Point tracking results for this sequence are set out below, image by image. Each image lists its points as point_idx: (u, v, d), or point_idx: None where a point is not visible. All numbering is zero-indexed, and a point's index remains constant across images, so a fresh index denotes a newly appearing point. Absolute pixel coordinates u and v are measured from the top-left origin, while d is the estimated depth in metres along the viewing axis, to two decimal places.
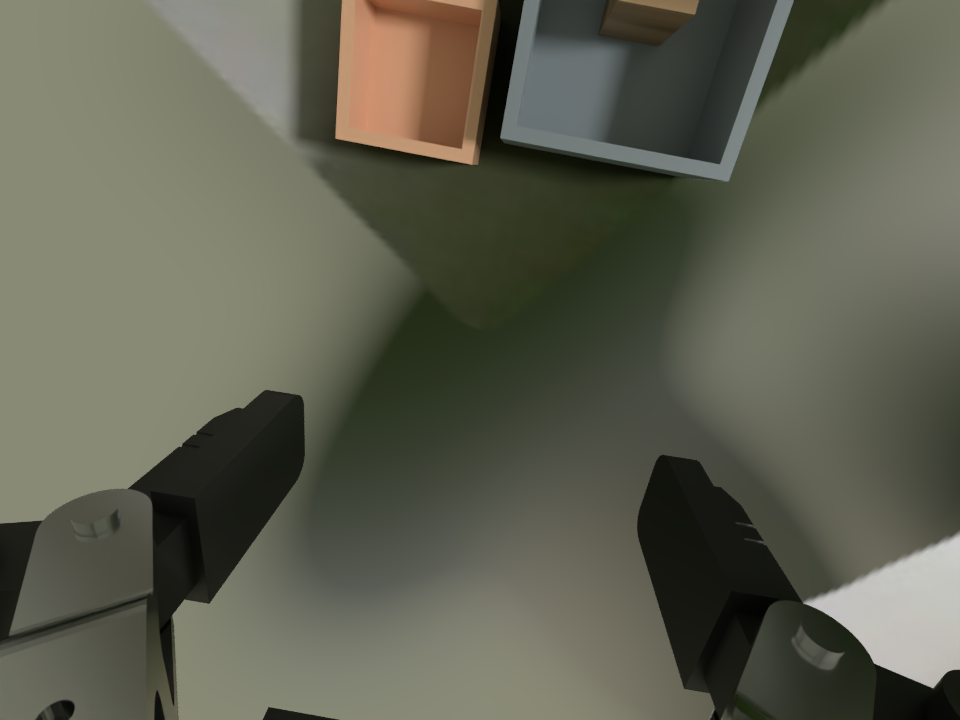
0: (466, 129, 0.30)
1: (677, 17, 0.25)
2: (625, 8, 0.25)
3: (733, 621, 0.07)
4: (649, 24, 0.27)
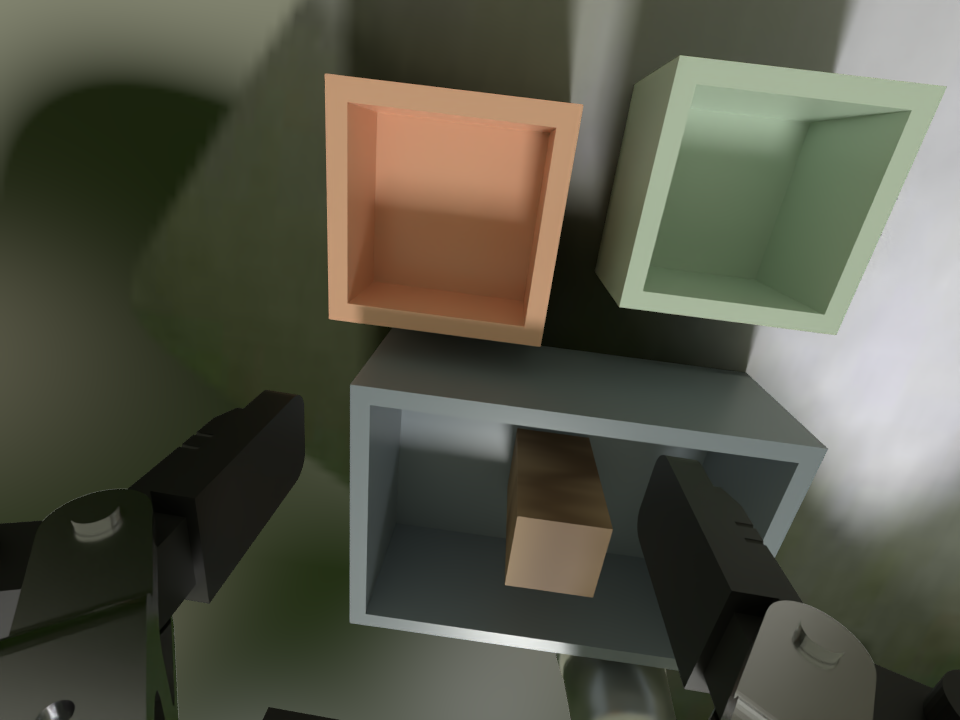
0: (375, 309, 0.20)
1: (507, 559, 0.22)
2: (515, 510, 0.21)
3: (733, 621, 0.07)
4: (510, 513, 0.23)
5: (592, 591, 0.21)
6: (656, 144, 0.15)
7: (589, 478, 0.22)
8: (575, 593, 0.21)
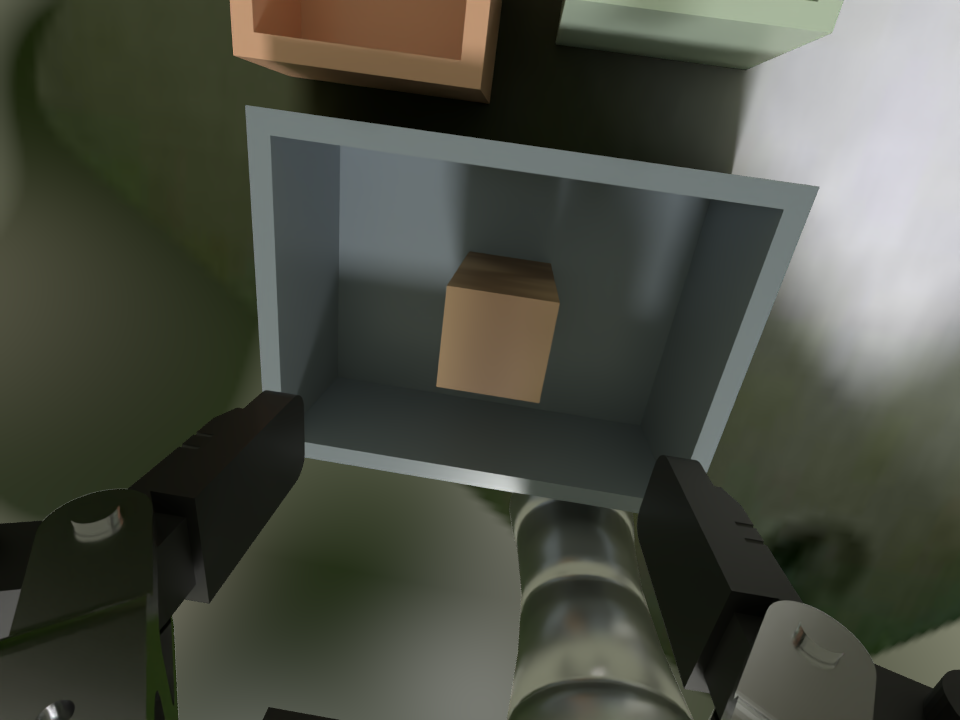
0: (286, 40, 0.17)
1: None
2: None
3: (733, 621, 0.07)
4: None
5: (538, 394, 0.18)
6: None
7: (542, 279, 0.19)
8: (518, 397, 0.18)
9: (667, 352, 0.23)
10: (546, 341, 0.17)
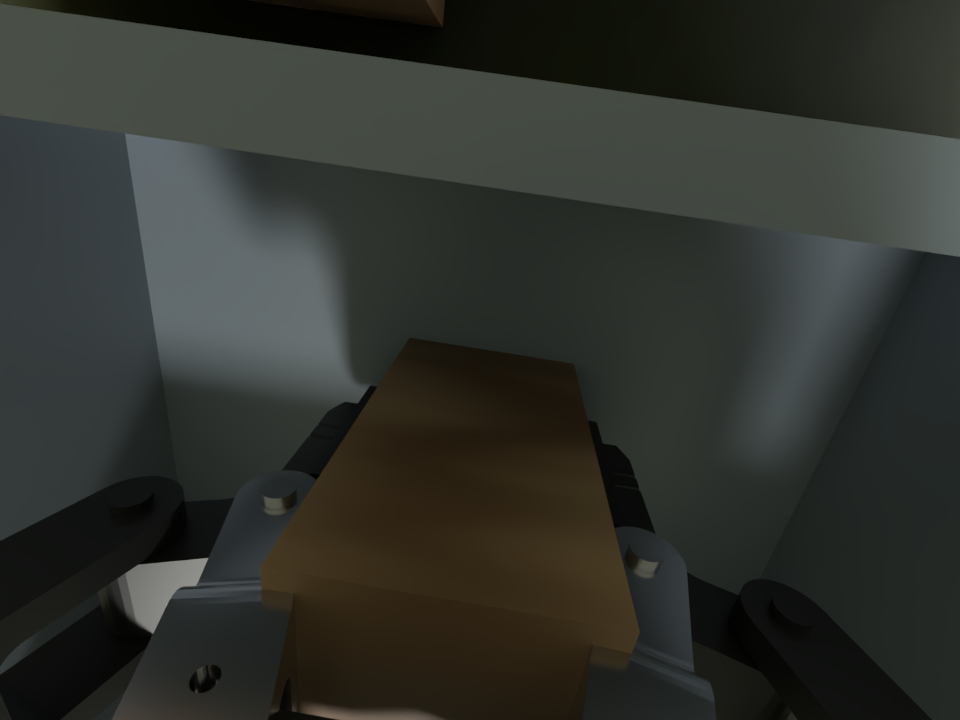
0: None
1: None
2: None
3: None
4: None
5: None
6: None
7: (565, 446, 0.08)
8: None
9: (803, 533, 0.12)
10: None
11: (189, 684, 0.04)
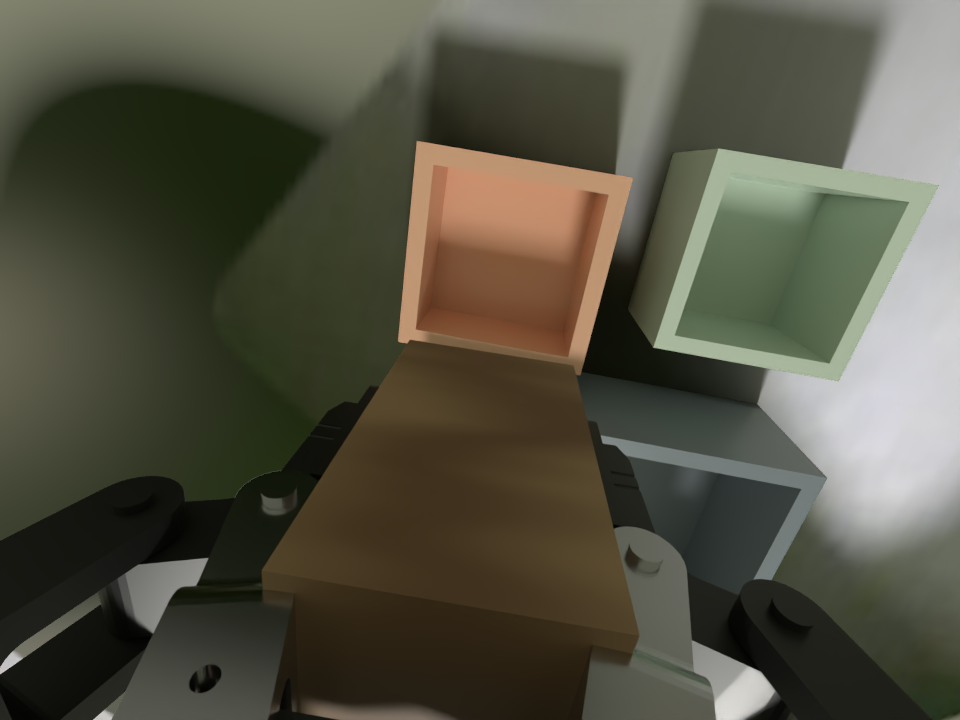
0: (439, 335, 0.23)
1: None
2: None
3: None
4: None
5: None
6: (693, 216, 0.18)
7: (566, 449, 0.08)
8: None
9: (702, 524, 0.29)
10: None
11: (190, 684, 0.04)
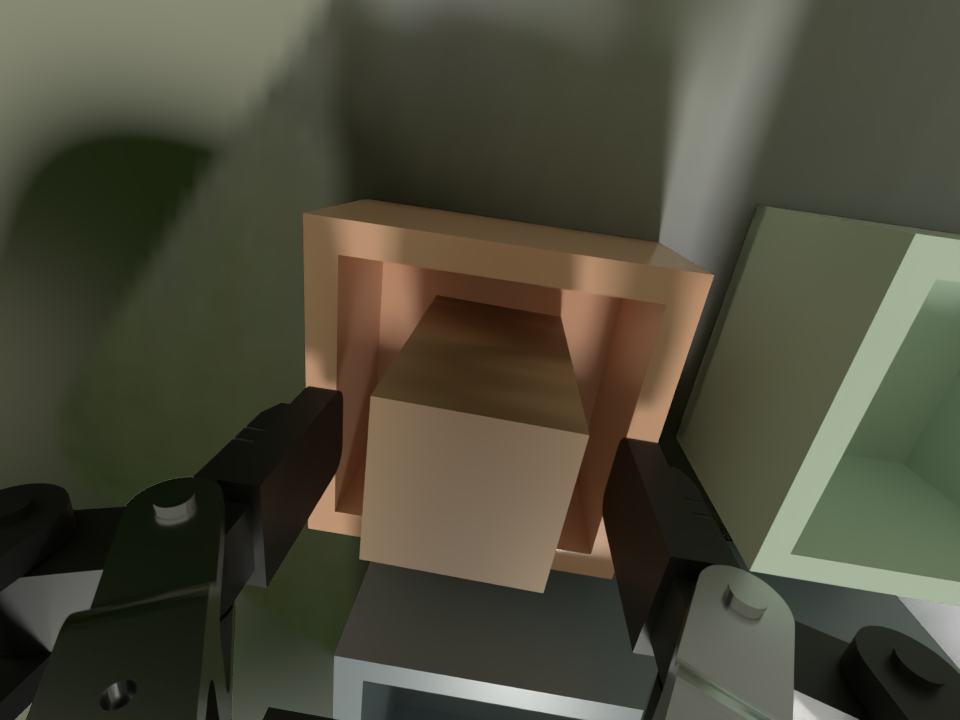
0: None
1: None
2: None
3: (674, 586, 0.07)
4: None
5: (541, 580, 0.10)
6: (843, 356, 0.09)
7: (551, 360, 0.11)
8: (506, 583, 0.10)
9: None
10: (560, 498, 0.09)
11: (100, 704, 0.04)
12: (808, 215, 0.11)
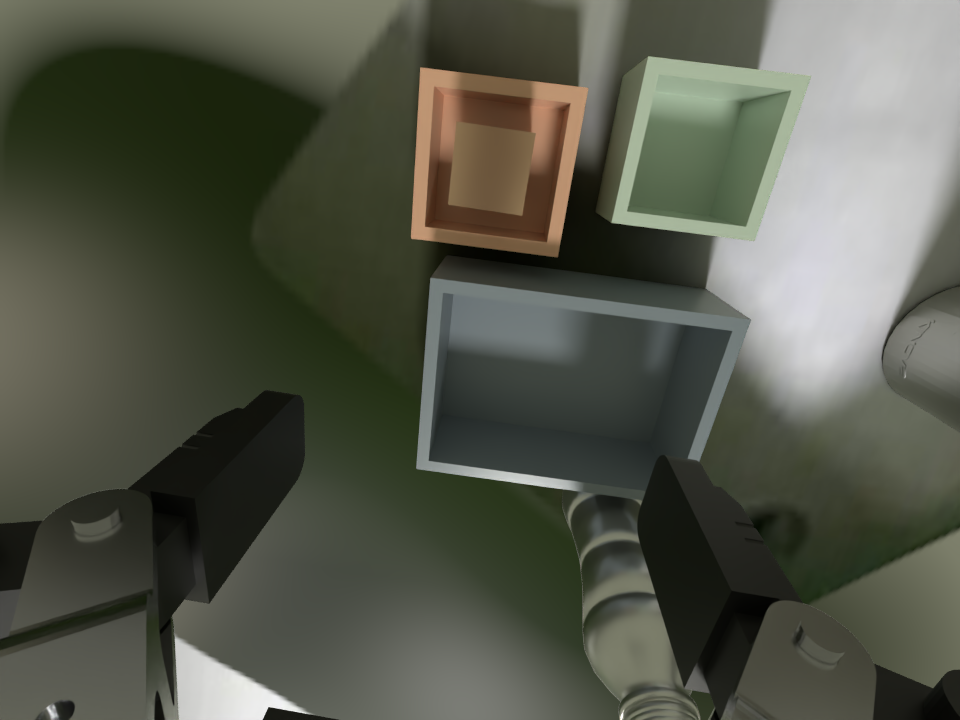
0: (443, 231, 0.29)
1: None
2: None
3: (733, 621, 0.07)
4: None
5: (521, 208, 0.25)
6: (634, 112, 0.24)
7: None
8: (507, 211, 0.25)
9: (667, 396, 0.35)
10: (526, 164, 0.24)
11: None
12: None
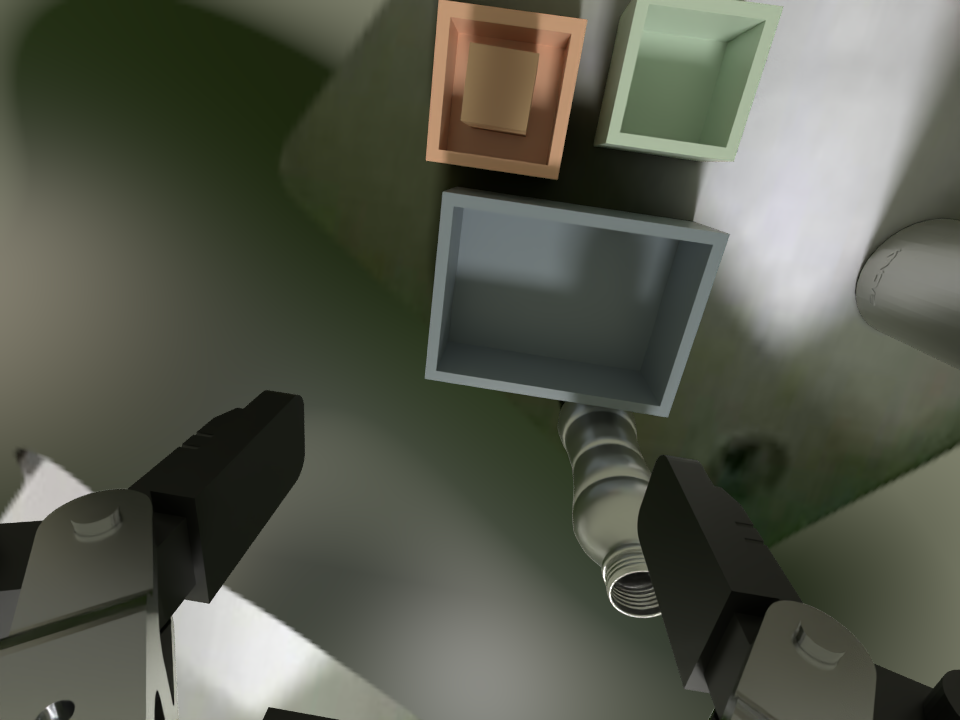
0: (455, 153, 0.32)
1: None
2: None
3: (733, 621, 0.07)
4: None
5: (525, 124, 0.28)
6: (627, 40, 0.27)
7: None
8: (513, 127, 0.28)
9: (657, 323, 0.39)
10: (531, 82, 0.27)
11: None
12: (627, 6, 0.29)
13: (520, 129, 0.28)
